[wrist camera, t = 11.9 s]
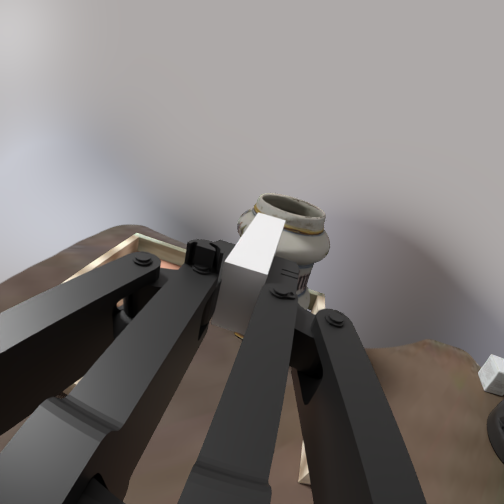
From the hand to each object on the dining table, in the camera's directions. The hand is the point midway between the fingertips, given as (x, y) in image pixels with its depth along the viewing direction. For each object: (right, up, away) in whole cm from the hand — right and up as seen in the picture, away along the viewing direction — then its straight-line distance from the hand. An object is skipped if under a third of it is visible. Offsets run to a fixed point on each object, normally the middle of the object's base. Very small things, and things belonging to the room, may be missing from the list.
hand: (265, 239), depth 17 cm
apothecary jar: (0, -11, +27) cm, 29 cm away
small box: (+43, -25, +23) cm, 55 cm away
